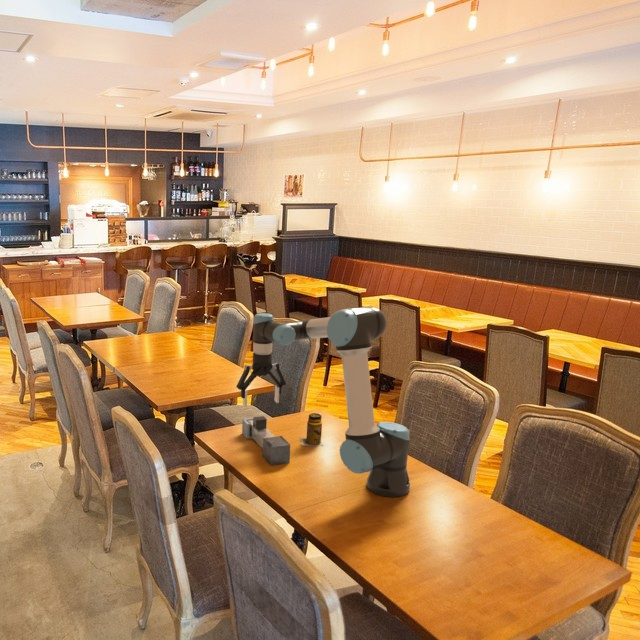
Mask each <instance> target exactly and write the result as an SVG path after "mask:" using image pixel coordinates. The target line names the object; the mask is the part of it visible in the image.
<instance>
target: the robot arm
mask: <svg viewBox="0 0 640 640" xmlns="http://www.w3.org/2000/svg"><path fill="white" fill-rule="evenodd" d="M387 323H388V322H387V317H386V315H385V313H384V312H383V311H382V310H381V309H379V308H378V307H374V306H363V307H361V306H360V307H354V308H353V307H351V308H343V309H340V310H337V311H335V312H333V313H332V315H331V316H328V317H319V318H313V319H312V318H311V319H305V320H297V321H296V320H295V321H289V322H276V321H274V315H273V314H271V313H265V312H262V313H256V314H255V315H254V318H253V339H252V341H253V346H252V352H253V353H252V364H251V365H248V364H245V365H244V370H243V372H242V374H241V376H240V378H239V380H238V382H237V384H236V386H235V387H236V389H238V390H240V398H241V399H242V405H243V406H244V407H246V408H247V407H248V390H247V389H248V387H249V386H250V385H251V384H252V382H254V380H255V379H256V378H257V377H258V376H259V377H261V376H265V377H266V376H269V377H270V379H271V380H272V381H273V382H274V383H275V386H274V402H275V403H276V404H279V403H280V401H279V400H280V395H281V394H282V388H283V386H286V385H287V382H286V380H285V378H284V375H283V374H282V371H281V369H280V364H279V363H277V362H274V363H273V360H272V359H273V353H272V352H273V343H276V344H278V345H281V346H290V345H291V344H292V343H294V342H296V341H303V340H304V341H305V340H313V339H324V338H328V340H329V341H330V343H331V344H332V345H333V346H335V350H336V352H337V353H338V354H339V355H340V356H341V363H342V371H343V372H342V374H343V382H344V390H345V391H344V393H345V400H346V401H345V402H346V410H347V411H346V412H347V418H348V427H347V428H346V430H345V431H344V435H345V440H344V441H342V443H341V445H340V447H339V455H340V458H341V462H342V463H343V465H344V467H346V468H347V469H348V470H349V471H350V472H352V473H353V474H358V475H360V474H364V473H369V474H368V476H367V479H366V487H367V489H369V491H371V492H372V493H374V494H376V495H379V496H381V497H387V498H398V497H402V496H406V495H407V494H408V493H409V492H410V488H411V487H410V486H411V482H410V478H409V473H408V469H407V466H408V457H409V456H408V455H409V447H410V430H409V429H408V428H407V427H406V426H405V425H402V424H400V423H397V422H391V421H379V422H378V423H377V424H376V422H375V416H374V414H375V413H374V405H373V398H372V397H373V396H372V385H371V376H370V367H369V365H370V364H369V357H368V354H369V353H368V352H369V351H370V350H371V349H372V343H371V341H373V340H374V341H375V340H377V339H379V338H380V337H382V336H383V334H385V331H386V330H387ZM272 369H274V371H275V372H276V375H277V377H278V378H276V376H275V375H274V374H273V373H272V371H271V370H272ZM250 372H251V373H250ZM249 374H250V375H249ZM278 379H279V380H278Z"/></svg>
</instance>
